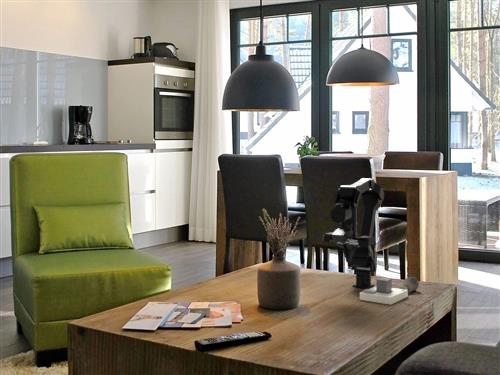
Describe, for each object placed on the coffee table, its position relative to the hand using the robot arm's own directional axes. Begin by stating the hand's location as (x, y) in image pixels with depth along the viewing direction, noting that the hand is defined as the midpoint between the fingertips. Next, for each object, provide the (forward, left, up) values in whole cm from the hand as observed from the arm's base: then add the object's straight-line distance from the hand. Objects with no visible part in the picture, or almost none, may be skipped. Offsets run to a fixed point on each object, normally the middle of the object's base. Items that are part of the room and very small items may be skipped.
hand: (348, 262), depth 256 cm
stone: (-18, +16, -12) cm, 27 cm away
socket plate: (-3, +13, -12) cm, 18 cm away
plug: (-3, +13, -12) cm, 18 cm away
